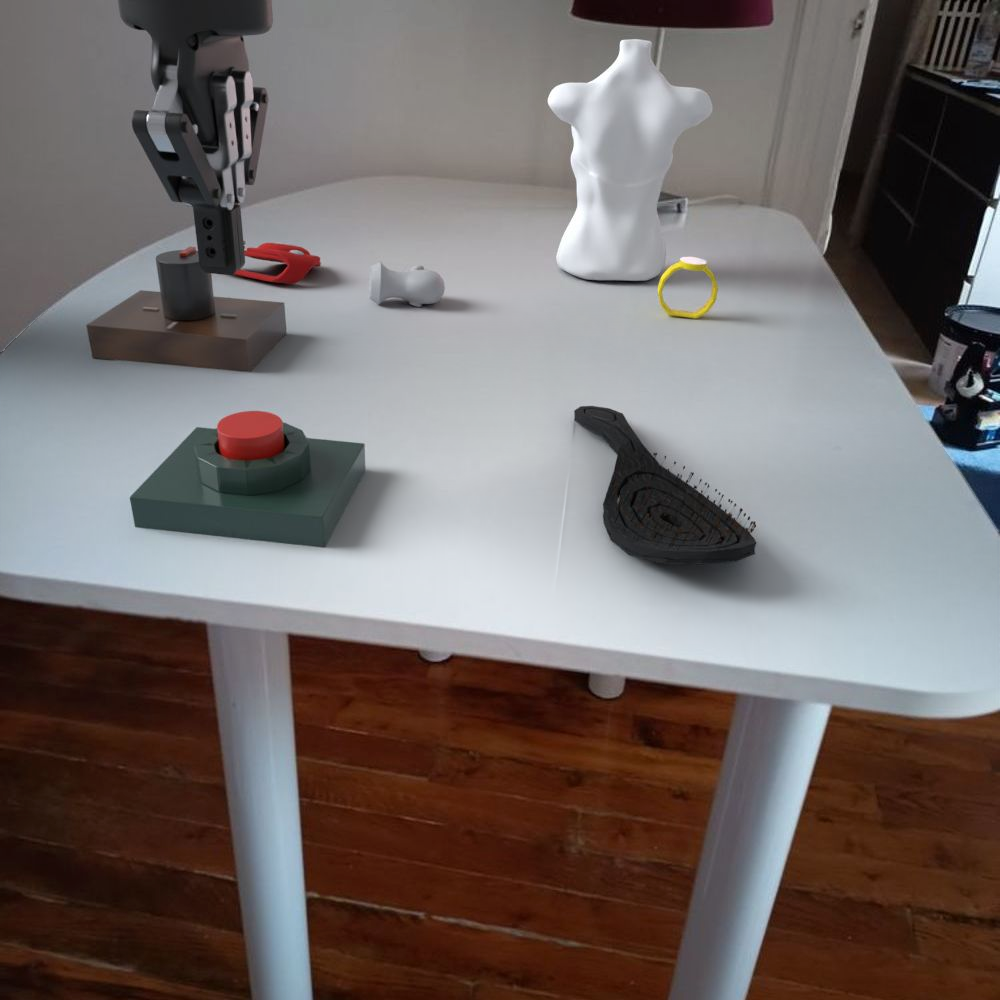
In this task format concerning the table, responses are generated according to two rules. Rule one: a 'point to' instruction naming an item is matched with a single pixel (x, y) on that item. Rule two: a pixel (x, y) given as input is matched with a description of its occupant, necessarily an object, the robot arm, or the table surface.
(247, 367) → the dimmer panel
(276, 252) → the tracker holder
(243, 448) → the button
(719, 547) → the hairbrush
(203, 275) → the dimmer knob
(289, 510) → the switch block
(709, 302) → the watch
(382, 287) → the pale two-lobed sculpture
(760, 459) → the table surface
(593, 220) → the torso sculpture
